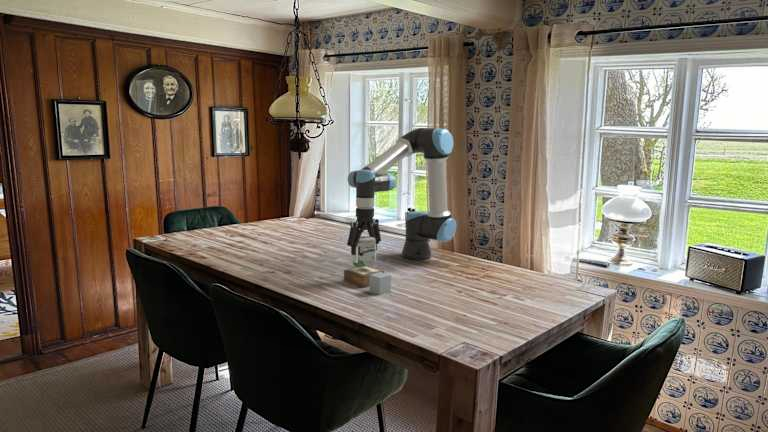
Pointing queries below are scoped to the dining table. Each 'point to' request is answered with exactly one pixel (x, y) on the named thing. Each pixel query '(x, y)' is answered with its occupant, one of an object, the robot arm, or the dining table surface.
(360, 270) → the pedestal
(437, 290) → the dining table surface
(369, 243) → the ink box
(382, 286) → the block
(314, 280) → the dining table surface
